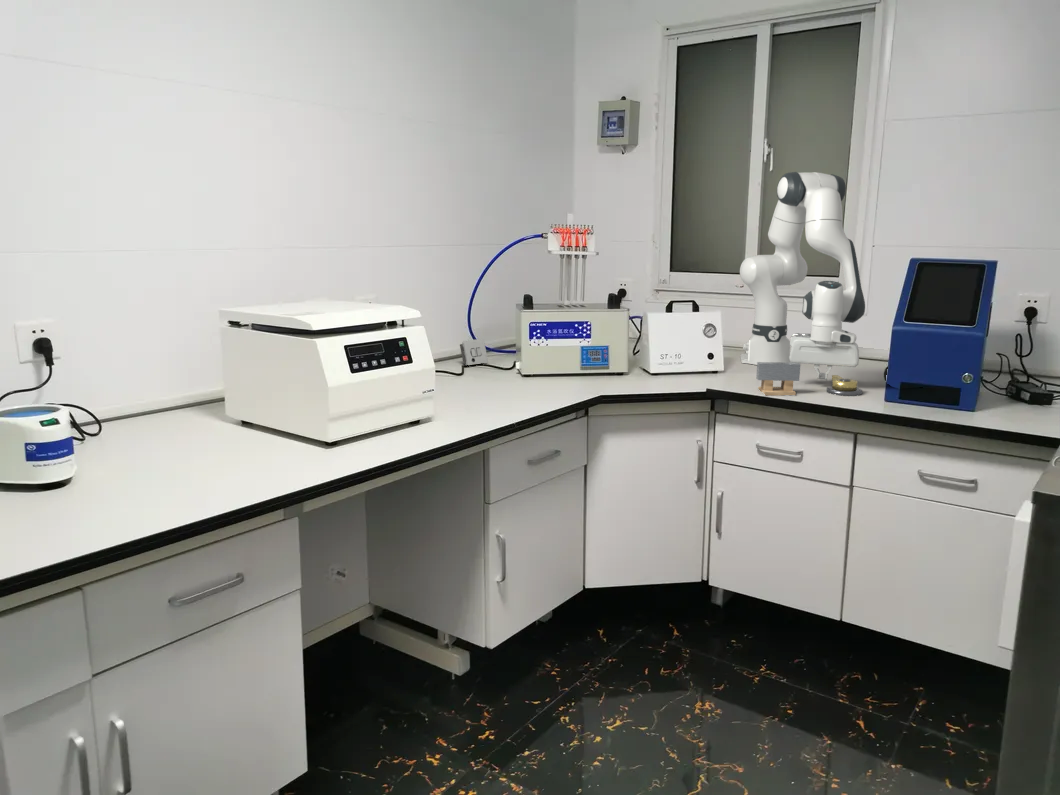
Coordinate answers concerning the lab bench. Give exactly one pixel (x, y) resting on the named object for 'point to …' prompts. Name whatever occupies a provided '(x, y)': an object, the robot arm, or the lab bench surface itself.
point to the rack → (777, 388)
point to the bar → (778, 371)
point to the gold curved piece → (843, 383)
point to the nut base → (844, 392)
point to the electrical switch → (473, 352)
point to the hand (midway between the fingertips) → (822, 378)
